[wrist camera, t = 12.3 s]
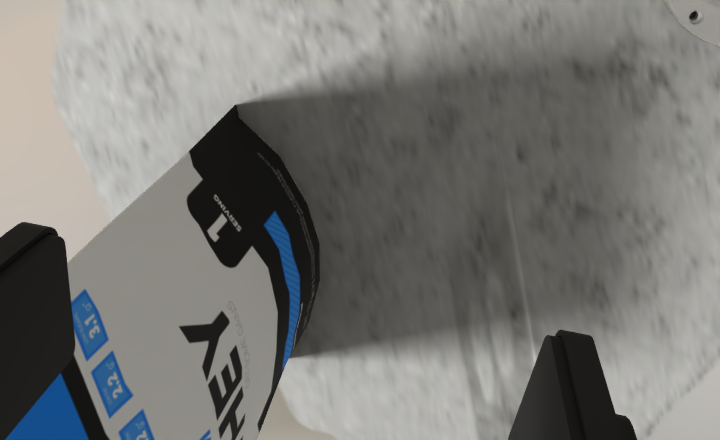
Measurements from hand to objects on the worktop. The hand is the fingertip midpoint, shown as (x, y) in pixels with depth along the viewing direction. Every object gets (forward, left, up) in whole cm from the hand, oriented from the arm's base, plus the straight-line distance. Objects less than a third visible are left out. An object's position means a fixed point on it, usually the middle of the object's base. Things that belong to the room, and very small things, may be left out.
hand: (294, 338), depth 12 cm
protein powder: (+9, +20, -35) cm, 41 cm away
